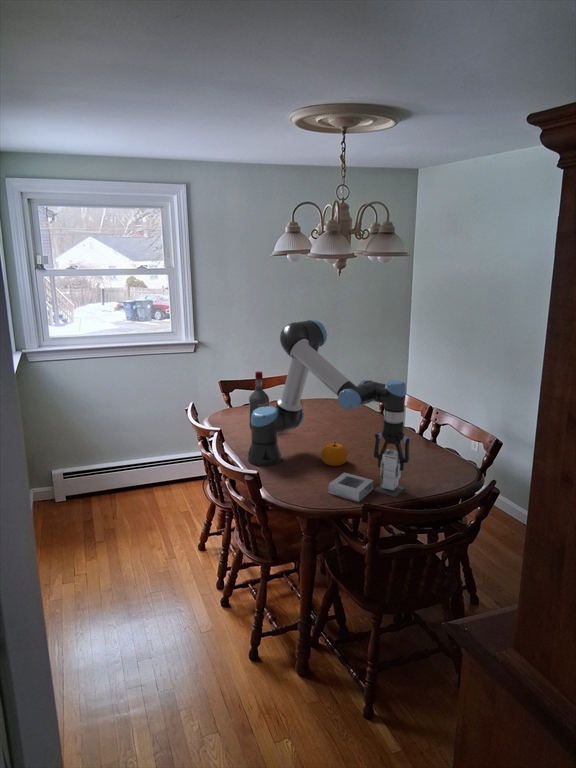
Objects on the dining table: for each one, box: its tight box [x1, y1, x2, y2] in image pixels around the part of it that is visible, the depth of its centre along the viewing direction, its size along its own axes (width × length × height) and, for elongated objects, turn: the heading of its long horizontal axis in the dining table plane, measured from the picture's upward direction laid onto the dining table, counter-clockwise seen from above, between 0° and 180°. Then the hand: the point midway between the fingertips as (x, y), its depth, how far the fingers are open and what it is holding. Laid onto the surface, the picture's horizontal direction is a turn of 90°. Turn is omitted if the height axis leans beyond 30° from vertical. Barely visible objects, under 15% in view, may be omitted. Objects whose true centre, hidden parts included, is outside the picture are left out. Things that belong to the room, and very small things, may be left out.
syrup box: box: [379, 448, 400, 490], centre depth 207 cm, size 6×6×14 cm
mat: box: [373, 484, 405, 498], centre depth 209 cm, size 9×9×1 cm
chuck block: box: [328, 472, 375, 503], centre depth 207 cm, size 13×13×4 cm
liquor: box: [248, 371, 270, 429], centre depth 277 cm, size 9×9×30 cm
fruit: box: [320, 441, 349, 467], centre depth 233 cm, size 12×12×10 cm
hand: (390, 476), depth 208 cm, fingers open, 6 cm apart
